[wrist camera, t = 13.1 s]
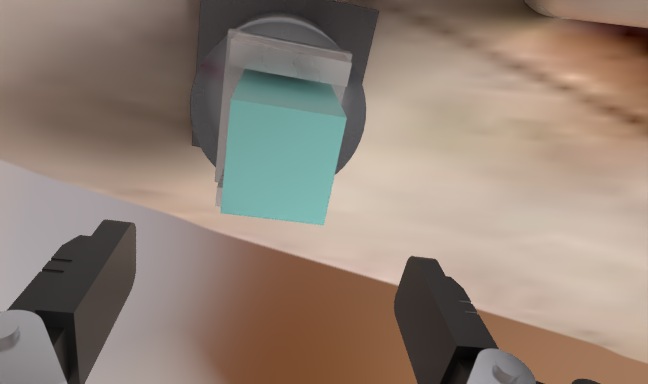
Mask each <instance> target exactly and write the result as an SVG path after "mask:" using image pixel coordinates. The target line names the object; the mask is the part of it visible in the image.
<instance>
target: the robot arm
mask: <svg viewBox="0 0 648 384" xmlns="http://www.w3.org/2000/svg"><path fill="white" fill-rule="evenodd" d="M524 1H525V2H526V3H527V5H528V6H529V7H530V8H532V9H533V10H535V11H536V12H537V13H540V14H543V15H546V16H552V17H557V18H562V19H576V20H584V21H592V22H601V23H609V24H618V25H626V26H635V27H643V28H648V0H524ZM135 273H136V227H135V224H134V223H130V222H122V221H113V220H103V221H102V223H101V224H100V225H99V227H98V228H97V229H96V230H95V232H94V233H93V235H92V236H82V235H80V236H78V237H76V238H74V239H73V240H71V241H69V242H67V243H66V244H64V245H62V246H61V247H60V248H59V250H58V251H57V252H56V253H55V254H54V256H53V257H52V258H51V261H49V262H48V263H47V264H46V265H45V266H44V267H43V269H42V272H39V273H38V274H37V276H36V277H35V278H34V279H33V280H32V281H31V283H30V284H29V285H28V286H27V287H26V289H25V290H24V291H23V292H22V293H21V295H20V296H19V297H18V298H17V299H16V300H15V301H14V303H13V304H12V305H11V306H10V307H9V309H8V310H7V311H2V312H0V384H85V381H86V379H87V378H88V376H89V373H90V372H91V369H92V368H93V365H94V364H95V362H96V359H97V357H98V355H99V353H100V352H101V350H102V348H103V346H104V344H105V341H106V339H107V337H108V335H109V333H110V331H111V329H112V327H113V325H114V323H115V321H116V319H117V317H118V315H119V313H120V311H121V309H122V307H123V305H124V303H125V301H126V299H127V297H128V295H129V293H130V291H131V289H132V286H133V282H134V279H135ZM394 312H395V317H396V320H397V323H398V326H399V329H400V332H401V335H402V338H403V341H404V344H405V347H406V350H407V353H408V356H409V359H410V362H411V364H412V367H413V371H414V374H415V377H416V380H417V383H418V384H543V383H541V382H538V381H536V380H535V378H534V376H533V374H532V372H531V371H530V370H529V368H528V367H527V366H526V365H525V364H524V363H523V362H521V361H520V360H519V359H518V358H516V357H515V356H513V355H511V354H509V353H507V352H505V351H502V350H499V348H498V347H497V345H496V343H495V341H494V340H493V338H492V336H491V335H490V333H489V332H488V330H487V328H486V326H485V324H484V323H483V321H482V319H481V318H480V316H479V315H477V311H476V309H475V307H474V306H473V304H471V301H470V299H469V297H468V296H467V294H466V292H465V290H464V289H463V288H462V287H461V286H460V285H459V284H458V283H457V282H456V281H455V280H454V279H452V278H451V277H447V276H445V274H444V272H443V270H442V268H441V267H440V265H439V263H438V261H437V260H436V259H432V258H423V257H415V256H411V257H410V258H409V259H408V261H407V263H406V266H405V269H404V272H403V275H402V278H401V281H400V284H399V287H398V290H397V293H396V296H395V301H394ZM572 384H600V383H597V382H595V381H592V380H588V379H577V380H575V381H574V382H572Z"/></svg>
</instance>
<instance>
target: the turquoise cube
mask: <svg viewBox="0 0 648 384" xmlns="http://www.w3.org/2000/svg"><path fill="white" fill-rule="evenodd" d="M346 120H347V117H346V115H345V113H344V111H343V109H342V107H341V105H340V103H339V100H338V98H337V96H336V94H335V92H334V90H333V88H332V86H331V84H328V83H322V82H316V81H311V80H305V79H299V78H293V77H288V76H282V75H276V74H270V73H265V72H259V71H253V70H247V69H244V71H243V74H242V76H241V78H240V80H239V82H238V85H237V87H236V89H235V91H234V93H233V96H232V98H231V103H230V114H229V125H228V136H227V147H226V158H225V168H224V179H223V190H222V201H221V212H220V213H224V214H233V215H241V216H250V217H258V218H267V219H275V220H284V221H292V222H301V223H309V224H318V225H324V221H325V217H326V212H327V207H328V203H329V198H330V194H331V189H332V184H333V180H334V175H335V171H336V166H337V161H338V157H339V152H340V148H341V143H342V138H343V134H344V129H345V124H346Z"/></svg>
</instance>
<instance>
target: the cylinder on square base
mask: <svg viewBox="0 0 648 384" xmlns="http://www.w3.org/2000/svg"><path fill="white" fill-rule="evenodd" d="M378 13H379V11H377V10H373V9H369V8H364V7H359V6H355V5H350V4H345V3H341V2H336V1H331V0H201V4H200V20H199V37H198V53H197V70H196V77H195V79H194V83H193V86H192V90H191V98H190V115H191V121H192V126H193V135H192V146H199V147H201V148H202V150H203V152H204V153H205V155H206V156H207V158H208V159H209V160H210V161H211V163H212V164H213V165H214V166H215V167H216V172H215V182H219V183H218V186H217V195H216V205H215V206H220V207H221V201H222V190H223V179H224V168H225V158H226V147H227V136H228V125H229V114H230V103H231V98H232V96H233V93H234V91H235V89H236V87H237V85H238V82H239V80H240V78H241V76H242V74H243V71H244V69H247V70H253V71H259V72H265V73H270V74H276V75H282V76H288V77H293V78H299V79H305V80H311V81H316V82H322V83H328V84H331V86H332V88H333V90H334V92H335V94H336V96H337V98H338V100H339V103H340V105H341V107H342V109H343V111H344V113H345V115H346V117H347V120H346V124H345V129H344V134H343V138H342V143H341V148H340V152H339V157H338V161H337V166H336V171H335V174H337V173H338V172H339V171H340V170H341V169H342V168H343V167H344V166H345V165H346V163H347V162H348V161H349V160H350V158H351V157H352V155H353V154H354V152H355V151H356V149H357V146H358V144H359V142H360V140H361V137H362V134H363V130H364V125H365V120H366V102H365V95H364V90H363V86H362V82H363V78H364V73H365V69H366V65H367V60H368V56H369V52H370V47H371V43H372V39H373V34H374V30H375V26H376V21H377V17H378Z"/></svg>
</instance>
